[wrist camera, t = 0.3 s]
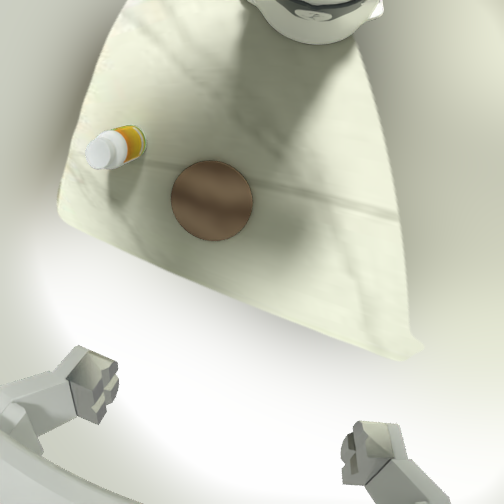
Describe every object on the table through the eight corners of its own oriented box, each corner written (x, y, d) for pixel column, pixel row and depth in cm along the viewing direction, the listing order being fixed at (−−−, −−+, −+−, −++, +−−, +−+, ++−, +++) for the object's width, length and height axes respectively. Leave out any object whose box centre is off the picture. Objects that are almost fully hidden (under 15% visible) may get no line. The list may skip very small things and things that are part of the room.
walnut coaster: (174, 157, 45) (171, 158, 44) (256, 165, 44) (255, 166, 43) (173, 232, 50) (171, 235, 49) (248, 243, 49) (247, 246, 49)
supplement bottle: (136, 117, 43) (101, 124, 34) (154, 146, 44) (122, 160, 36) (111, 137, 44) (74, 149, 36) (128, 165, 46) (94, 182, 38)
